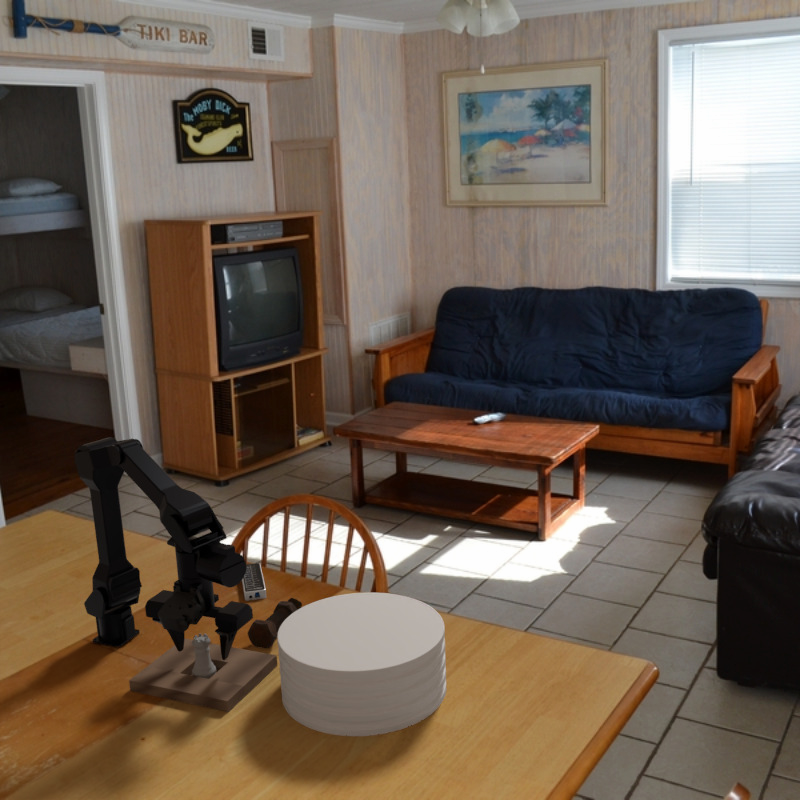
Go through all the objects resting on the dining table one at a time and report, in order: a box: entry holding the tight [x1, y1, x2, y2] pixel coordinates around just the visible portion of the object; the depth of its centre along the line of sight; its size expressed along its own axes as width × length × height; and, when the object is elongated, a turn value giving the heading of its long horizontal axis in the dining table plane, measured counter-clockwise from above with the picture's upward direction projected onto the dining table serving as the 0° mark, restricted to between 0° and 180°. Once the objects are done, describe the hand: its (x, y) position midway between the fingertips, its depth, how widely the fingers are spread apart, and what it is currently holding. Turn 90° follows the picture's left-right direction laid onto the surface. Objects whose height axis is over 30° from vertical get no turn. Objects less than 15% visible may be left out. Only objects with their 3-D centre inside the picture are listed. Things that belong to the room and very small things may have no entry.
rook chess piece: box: [192, 633, 217, 679], centre depth 172 cm, size 4×4×8 cm
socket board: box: [128, 637, 278, 713], centre depth 173 cm, size 20×16×2 cm
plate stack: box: [276, 591, 447, 737], centre depth 166 cm, size 28×28×12 cm
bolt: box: [247, 597, 303, 649], centre depth 189 cm, size 6×5×15 cm
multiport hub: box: [241, 562, 267, 602], centre depth 210 cm, size 4×14×2 cm, turn 13°
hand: (202, 654), depth 172 cm, fingers open, 9 cm apart
